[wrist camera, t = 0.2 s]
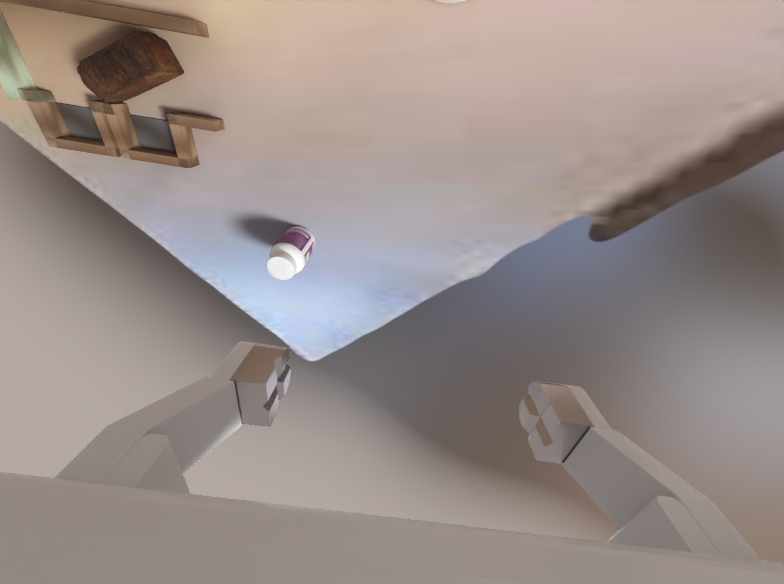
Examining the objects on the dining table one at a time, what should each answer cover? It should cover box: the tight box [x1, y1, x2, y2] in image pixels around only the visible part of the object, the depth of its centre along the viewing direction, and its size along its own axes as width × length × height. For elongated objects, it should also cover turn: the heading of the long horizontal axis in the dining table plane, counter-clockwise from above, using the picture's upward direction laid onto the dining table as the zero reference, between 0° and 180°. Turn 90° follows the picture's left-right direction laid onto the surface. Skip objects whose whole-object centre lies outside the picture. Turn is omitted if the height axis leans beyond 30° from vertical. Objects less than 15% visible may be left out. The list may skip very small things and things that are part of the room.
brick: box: [77, 31, 184, 103], centre depth 35 cm, size 11×4×5 cm, turn 107°
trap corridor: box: [0, 0, 225, 168], centre depth 37 cm, size 16×26×3 cm, turn 82°
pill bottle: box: [267, 226, 315, 280], centre depth 46 cm, size 5×5×10 cm
